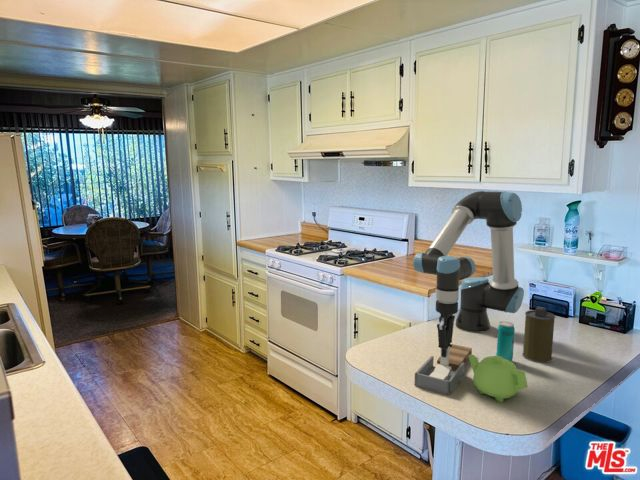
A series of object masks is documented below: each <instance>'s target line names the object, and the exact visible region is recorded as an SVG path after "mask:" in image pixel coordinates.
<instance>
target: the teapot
mask: <svg viewBox="0 0 640 480" xmlns="http://www.w3.org/2000/svg"><path fill="white" fill-rule="evenodd" d="M468 360H469V362H470V366H471V369H472V372H473V377H472V382H473V385H474V386H475V388H476V389H477V390H478V392H477V393H478V394H480V395H487V396H490V397H493V398H495V399H494V400H495V401H496V402H499V403H503V402H505V399H510V398H512V397H513V396H516V394H517V393H518V392H519V391H521V390H524V389H526V388H528V387H529V386H528V380H527V377H526V371H525V370H520V369H517V367H516V365H515V363H513V362H512V361H509V360H506V359H504V358H502V357H500V356H497V355H492V356H491V355H490V356H487V357H484V358H483V359H482V360H480V361H478V358H477V357H476V355H474V354H472V355H471V354H470V355H469V359H468Z"/></svg>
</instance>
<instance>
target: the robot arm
mask: <svg viewBox="0 0 640 480" xmlns="http://www.w3.org/2000/svg"><path fill="white" fill-rule="evenodd" d="M522 206H523V205H522V200H521V198H520V196H519V195H518V194H517V193H515V192H509V191H484V190H480V191H479V190H478V191H474V192H472V193H469V194H467V195H466V196H464V197H463V198H461V200H459V201H457V203H456V204H455V205H454V206H453V208H452V210H451V215H450V216H449V218H448V219H447V221H446V223H444V225H443V227H441V230H440V231H439V232H438V234H437V235H436V237H435V238H434V239H433V241H432V243H431V244H430V245H429V247H428V248H427V249H426V250H425V252H418V253H416V254H415V255H414V258H413V259H412V265H413V269H414V271H415V272H419V273H421V274H428V275H433V276H436V287H435V290H434V292H435V299H436V300H435V311H436V312H437V313H439V314H440V316H439V318H438V322H439V323H437V325H436V328H437V337H438V338H437V339H438V348H440V356H441V357H440V356H439V358H440V364H442V365H446V366H448V365H449V351H450V347H452V344H453V343H452V342H453V333H454V322H455V326H456V328H457V329H459V330H462V331H464V332H465V331H466V332H471V333H485V332H488V331H489V330H491V329H490V328H491V322H490V319H489V316H488V311H487V310H494V311H498V312H502V313H503V312H504V313H509V314H515V313H517V312H519V310H520V309H521V306H522V304H523V300H524V297H525V290H524V288H523V287H521V286H519V281H518V280H517V279H516V278H515V257H514V256H515V253H514V228H515V226H516V225H517V222H519V221H520V220H521V218H522V213H523V207H522ZM477 219H478V220H479V219H480V220H486V226H487V227H488V228H489V229H490V241H491V242H490V243H491V259H492V260H491V262H492V263H491V266H492V279H491V280H489V278H488V277H484V276H473V277H471V276H472V275H474V274H475V272H476V267H477V265H476V263H475V261H474V260H473V259H472V258H471V257H468V256H461V257H457V256H452V255H449V253H450V251H451V250H452V249H453V247H454V245H455V244H456V243H457V242H458V241H459V238H460V237H461V235H462V234H463V232H464V231H465V230H466V229H467V228H466V227H467V226H468V225H471V224H472V223H473V222H474V220H477ZM460 281H461V285H460ZM459 287H460V295H459ZM459 296H460V301H459ZM458 301H459V302H460V305H459V302H458ZM459 307H460V308H459ZM457 313H458V314H457ZM455 314H457V316H455ZM455 318H456V319H455ZM449 346H450V347H449Z"/></svg>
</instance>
